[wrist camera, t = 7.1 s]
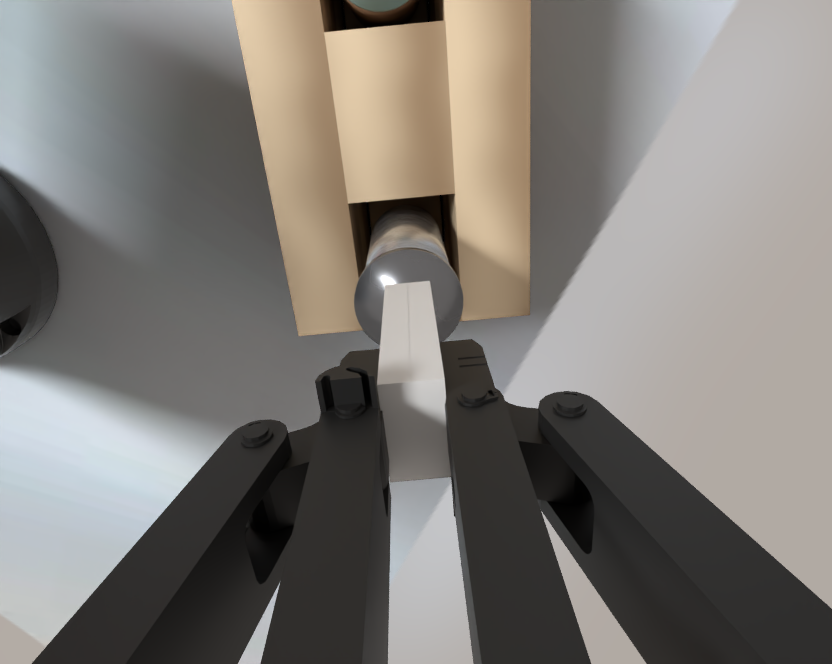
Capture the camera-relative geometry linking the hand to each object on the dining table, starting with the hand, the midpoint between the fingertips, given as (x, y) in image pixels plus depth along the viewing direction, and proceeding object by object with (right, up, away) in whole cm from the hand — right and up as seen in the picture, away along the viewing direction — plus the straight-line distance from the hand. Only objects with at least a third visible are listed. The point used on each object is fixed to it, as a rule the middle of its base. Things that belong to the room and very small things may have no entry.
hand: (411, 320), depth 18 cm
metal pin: (0, +4, +9) cm, 10 cm away
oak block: (-1, +13, +14) cm, 19 cm away
